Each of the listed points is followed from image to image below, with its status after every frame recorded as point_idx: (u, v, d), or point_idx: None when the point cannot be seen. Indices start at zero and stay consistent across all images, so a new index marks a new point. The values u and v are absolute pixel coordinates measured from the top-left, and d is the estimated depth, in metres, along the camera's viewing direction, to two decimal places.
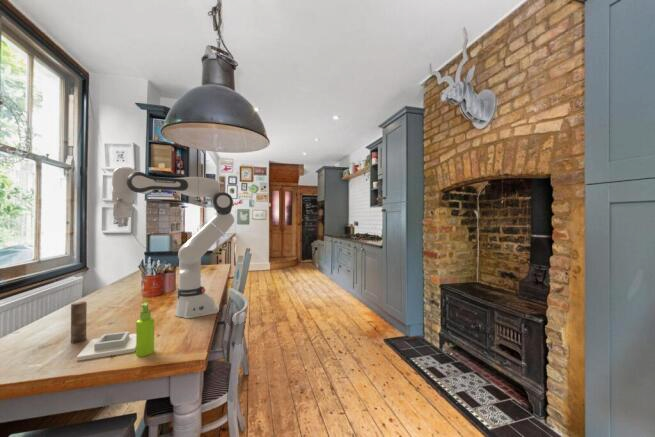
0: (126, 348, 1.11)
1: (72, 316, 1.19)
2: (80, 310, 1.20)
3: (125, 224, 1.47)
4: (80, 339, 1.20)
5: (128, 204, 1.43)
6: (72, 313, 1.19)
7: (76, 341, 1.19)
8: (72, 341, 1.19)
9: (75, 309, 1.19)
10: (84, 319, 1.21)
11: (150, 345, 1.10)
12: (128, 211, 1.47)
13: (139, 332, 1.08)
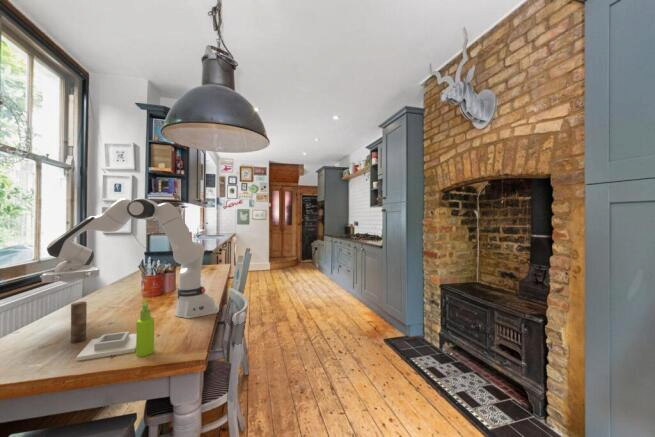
0: (126, 348, 1.11)
1: (72, 316, 1.19)
2: (80, 310, 1.20)
3: (85, 275, 1.33)
4: (80, 339, 1.20)
5: (66, 268, 1.35)
6: (72, 313, 1.19)
7: (76, 341, 1.19)
8: (72, 341, 1.19)
9: (75, 309, 1.19)
10: (84, 319, 1.21)
11: (150, 345, 1.10)
12: (78, 270, 1.36)
13: (139, 332, 1.08)
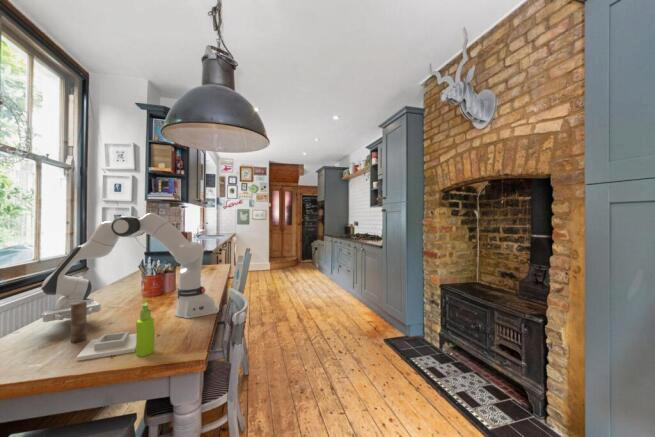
0: (126, 348, 1.11)
1: (72, 316, 1.19)
2: (80, 310, 1.20)
3: None
4: (80, 339, 1.20)
5: (67, 305, 1.34)
6: (72, 313, 1.19)
7: (76, 341, 1.19)
8: (72, 341, 1.19)
9: (75, 309, 1.19)
10: (84, 319, 1.21)
11: (150, 345, 1.10)
12: None
13: (139, 332, 1.08)
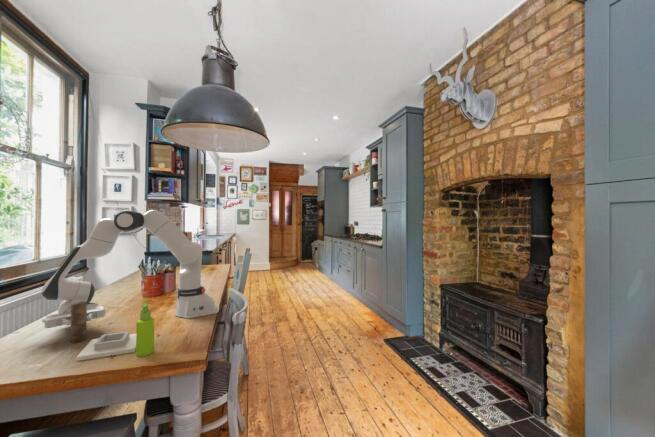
0: (126, 348, 1.11)
1: (72, 316, 1.19)
2: (80, 310, 1.20)
3: (86, 318, 1.23)
4: (80, 339, 1.20)
5: (70, 309, 1.27)
6: (72, 313, 1.19)
7: (76, 341, 1.19)
8: (72, 341, 1.19)
9: (75, 309, 1.19)
10: (84, 319, 1.21)
11: (150, 345, 1.10)
12: None
13: (139, 332, 1.08)
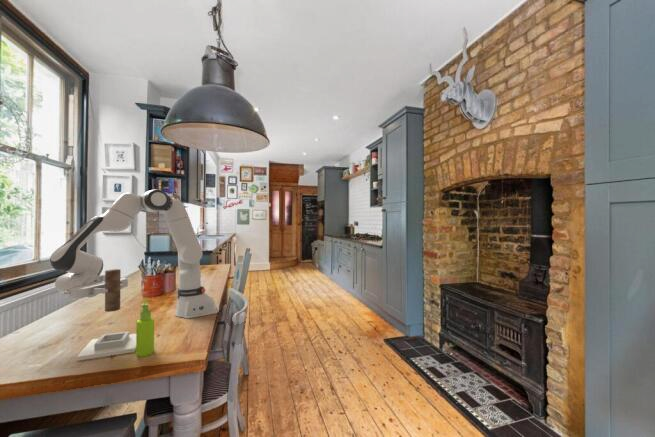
0: (126, 348, 1.11)
1: (109, 283, 1.13)
2: (118, 277, 1.15)
3: None
4: (117, 307, 1.15)
5: (90, 281, 1.17)
6: (109, 280, 1.13)
7: (114, 309, 1.14)
8: (109, 310, 1.13)
9: (113, 276, 1.13)
10: None
11: (150, 345, 1.10)
12: None
13: (139, 332, 1.08)
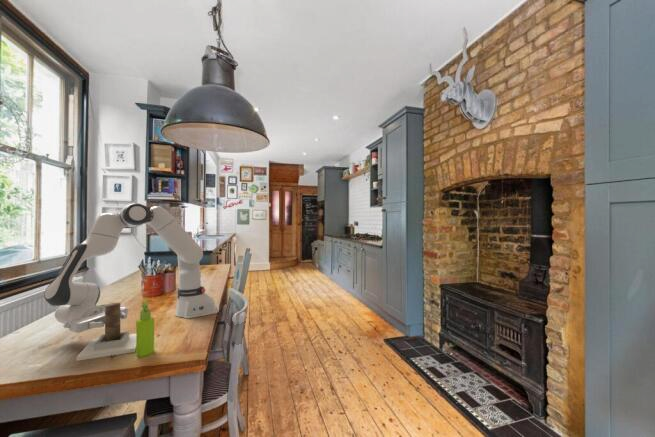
0: (126, 348, 1.11)
1: (109, 318, 1.13)
2: (118, 311, 1.15)
3: (122, 316, 1.19)
4: None
5: (90, 312, 1.17)
6: (109, 315, 1.13)
7: None
8: None
9: (113, 311, 1.13)
10: None
11: (150, 345, 1.10)
12: None
13: (139, 332, 1.08)
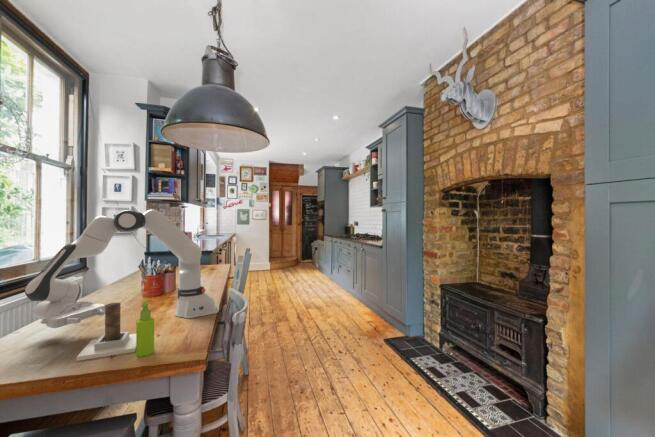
0: (126, 348, 1.11)
1: (109, 318, 1.13)
2: (118, 311, 1.15)
3: (99, 313, 1.23)
4: None
5: (68, 309, 1.20)
6: (109, 315, 1.13)
7: None
8: None
9: (113, 311, 1.13)
10: None
11: (150, 345, 1.10)
12: (84, 308, 1.23)
13: (139, 332, 1.08)
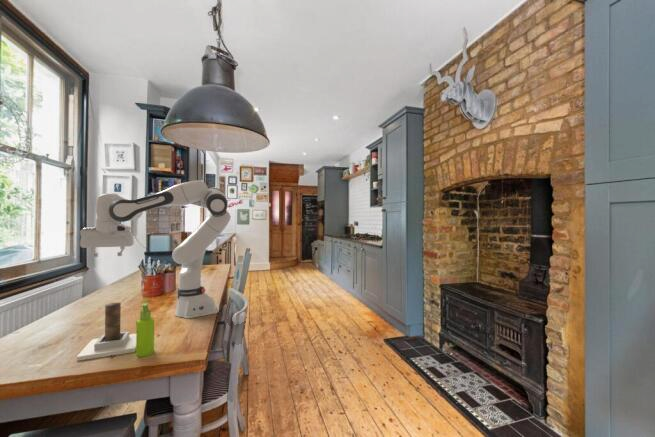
0: (126, 348, 1.11)
1: (109, 318, 1.13)
2: (118, 311, 1.15)
3: None
4: None
5: (101, 233, 1.32)
6: (109, 315, 1.13)
7: None
8: None
9: (113, 311, 1.14)
10: None
11: (150, 345, 1.10)
12: (113, 240, 1.34)
13: (139, 332, 1.08)
